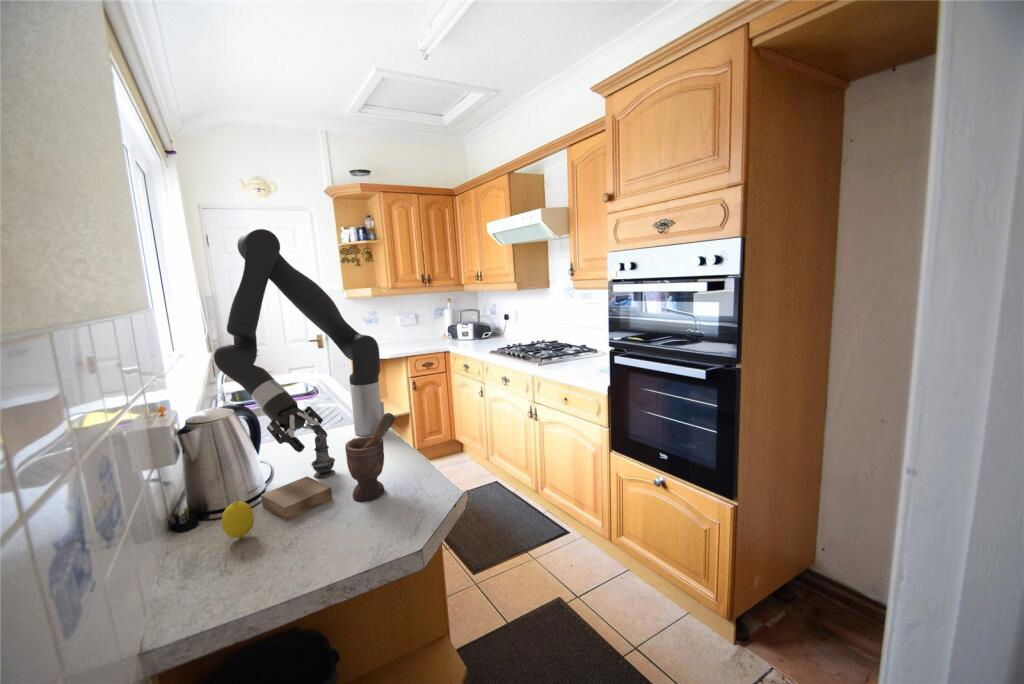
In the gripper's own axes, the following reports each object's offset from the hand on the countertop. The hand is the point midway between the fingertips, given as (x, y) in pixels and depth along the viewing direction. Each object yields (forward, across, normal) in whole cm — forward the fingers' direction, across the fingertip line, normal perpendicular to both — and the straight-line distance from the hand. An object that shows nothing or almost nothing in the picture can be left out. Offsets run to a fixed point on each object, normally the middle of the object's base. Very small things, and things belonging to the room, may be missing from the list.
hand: (314, 443), depth 117 cm
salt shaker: (+8, 0, +5) cm, 9 cm away
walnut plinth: (+11, -14, +1) cm, 18 cm away
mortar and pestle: (+22, -6, -10) cm, 25 cm away
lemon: (+10, -29, +2) cm, 31 cm away
